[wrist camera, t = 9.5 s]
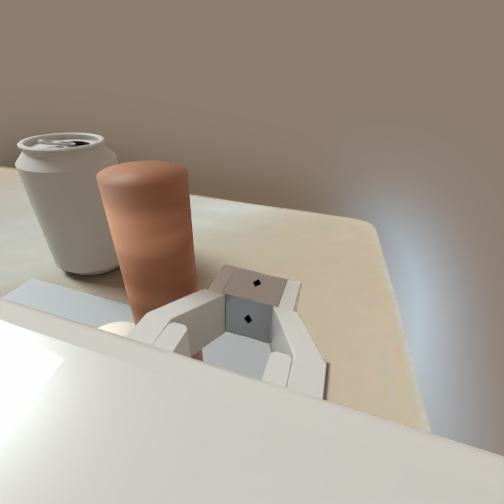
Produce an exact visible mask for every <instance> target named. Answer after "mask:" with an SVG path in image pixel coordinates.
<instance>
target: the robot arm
mask: <svg viewBox="0 0 504 504" xmlns="http://www.w3.org/2000/svg"><path fill="white" fill-rule="evenodd" d="M301 284H302V283H301V281H296V280H291V279H284V278H279V277H275V276H270V275H266V274H262V273H258V272H254V271H250V270H246V269H242V268H237V267H233V266H229V265H225V266H223V267H222V269H221V270H220V272H219V273H218V275H217V276H216V277H215V279H214V280H213V282H212V283H211V285H210V286H209V287H208V289H202V290H199V291H197V292H195V293H192V294H190V295H188V296H185V297H183V298H181V299H178V300H176V301H174V302H171V303H169V304H167V305H164V306H162V307H160V308H157V309H155V310H153V311H150V312H148V313H146V314H145V316H144V317H143V318H142V319H141V320H140V321H139V322H138V324H137V325H136V326H135V327H134V328H133V329H132V330H131V331H130V333H129V334H128V335H127V336H126V337H124V336H121V335H117V334H114V333H111V332H108V331H105V330H102V329H98V328H95V327H92V326H89V325H86V324H83V323H79V322H76V321H73V320H70V319H67V318H63V317H60V316H57V315H54V314H51V313H48V312H44V311H41V310H38V309H35V308H32V307H29V306H25V305H22V304H19V303H16V302H13V301H10V300H6V299H3V298H0V504H504V456H501V455H498V454H494V453H491V452H488V451H485V450H481V449H478V448H475V447H472V446H469V445H466V444H463V443H460V442H456V441H453V440H450V439H447V438H443V437H441V436H437V435H434V434H431V433H428V432H425V431H422V430H418V429H415V428H412V427H409V426H406V425H403V424H399V423H396V422H393V421H390V420H387V419H383V418H380V417H377V416H374V415H371V414H368V413H364V412H361V411H358V410H355V409H352V408H349V407H345V406H342V405H339V404H336V403H333V402H330V401H326V400H323V399H322V394H323V385H324V376H325V367H326V364H325V362H324V361H323V359H322V357H321V355H320V353H319V351H318V349H317V347H316V346H315V344H314V342H313V340H312V338H311V336H310V334H309V332H308V331H307V329H306V327H305V325H304V323H303V321H302V319H301V317H300V316H299V314H298V312H297V307H298V301H299V296H300V290H301ZM225 331H226V332H230V333H234V334H238V335H242V336H246V337H249V338H253V339H256V340H259V341H262V342H265V343H269V346H270V350H271V353H270V356H269V359H268V362H267V365H266V368H265V371H264V374H263V377H262V380H260V379H257V378H254V377H251V376H247V375H244V374H241V373H238V372H235V371H232V370H228V369H225V368H222V367H219V366H216V365H212V364H209V363H206V362H203V361H200V360H197V359H193V358H191V356H193V355H194V354H195V353H197V352H198V351H200V350H201V349H202V348H204V347H205V346H207V345H208V344H210V343H211V342H212V341H214V340H215V339H217V338H218V337H220V336H221V335H222V334H224V333H225Z"/></svg>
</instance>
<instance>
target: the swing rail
mask: <svg viewBox="0 0 504 504" xmlns="http://www.w3.org/2000/svg"><path fill="white" fill-rule="evenodd" d="M96 179H97V182H98V186H99V190H100V194H101V198H102V201H103V205H104V209H105V213H106V217H107V220H108V224H109V228H110V232H111V235H112V239H113V243H114V247H115V251H116V254H117V258H118V262H119V266H120V270H121V273H122V277H123V281H124V285H125V289H126V292H127V296H128V300H129V304H130V307H131V311H132V315H133V319H134V323H135V326H136V325H137V324H138V322H139V321H140V320H141V319H142V318H143V317H144V316H145V314H146V313H148V312H150V311H153V310H155V309H157V308H160V307H162V306H164V305H167V304H169V303H171V302H174V301H176V300H178V299H181V298H183V297H185V296H188V295H190V294H192V293H195V292H197V281H196V269H195V257H194V245H193V233H192V221H191V209H190V197H189V185H188V173H187V169H186V168H185V167H183V166H181V165H179V164H176V163H171V162H165V161H134V162H126V163H121V164H117V165H113V166H110V167H107V168H105V169H103V170H101V171H100V172H99V173H98V174H97V176H96ZM191 358H193V359H197V360H200V361H203V353H202V349H201V350H200V351H198V352H197V353H195V354H194V355H193V356H191Z"/></svg>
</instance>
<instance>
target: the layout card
mask: <svg viewBox="0 0 504 504" xmlns="http://www.w3.org/2000/svg"><path fill="white" fill-rule="evenodd" d="M2 298H3V299H6V300H10V301H13V302H16V303H19V304H22V305H25V306H29V307H32V308H35V309H38V310H41V311H44V312H48V313H51V314H54V315H57V316H60V317H63V318H67V319H70V320H73V321H76V322H79V323H83V324H86V325H89V326H92V327H95V328H98V329H102V330H105V331H108V332H111V333H114V334H117V335H121V336H124V337H126V336H127V335H128V334H129V333H130V331H131V330H132V329H133V328H134V327H135V323H134V319H133V315H132V311H131V307H130V305H127V304H124V303H120V302H117V301H113V300H109V299H106V298H102V297H99V296H95V295H91V294H88V293H84V292H81V291H77V290H73V289H70V288H66V287H63V286H59V285H55V284H52V283H48V282H45V281H41V280H37V279H34V278H32V279H30V280H29V281H27V282H26V283H24V284H23V285H21V286H20V287H18V288H16V289H15V290H13V291H12V292H10V293H9V294H7V295H5V296H4V297H2ZM202 353H203V362H206V363H209V364H212V365H216V366H219V367H222V368H225V369H228V370H232V371H235V372H238V373H241V374H244V375H247V376H251V377H254V378H257V379H260V380H262V377H263V374H264V371H265V368H266V365H267V362H268V359H269V356H270V353H271V350H270V346H269V344H268V343H264V342H261V341H257V340H253V339H250V338H246V337H243V336H239V335H235V334H232V333H228V332H225V333H224V334H222V335H221V336H220V337H218V338H217V339H215V340H214V341H212V342H211V343H210V344H208V345H207V346H205V347H204V348H202ZM323 361H324V362H325V364H326V365H327V360H325V359H323ZM325 375H326V367H325ZM324 384H325V376H324ZM323 394H324V385H323ZM323 394H322V399H323Z"/></svg>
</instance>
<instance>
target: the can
mask: <svg viewBox="0 0 504 504" xmlns="http://www.w3.org/2000/svg"><path fill="white" fill-rule="evenodd" d="M104 142H105V139H104V138H103V137H101V136H100V135H95V134H89V133H56V134H46V135H39V136H34V137H30V138H26V139H23V140H21V141H20V142H19V143H18V144H17V146H18V147H19V149H21V150H22V153H21V154H20V156H19V158H18V159H17V161H16V163H15V166H16V168H17V171H18V173H19V175H20V178H21V180H22V183H23V185H24V188H25V190H26V192H27V195H28V197H29V200H30V202H31V204H32V207H33V209H34V212H35V214H36V217H37V219H38V221H39V224H40V226H41V229H42V231H43V234H44V236H45V238H46V241H47V243H48V246H49V248H50V250H51V253H52V255H53V258H54V260H55V262H56V265H57V267H59V268H61V269H62V270H64V271H68V272H73V273H75V274H79V275H96V274H102V273H105V272H108V271H111V270H114V269H115V268H117V267H119V262H118V258H117V254H116V251H115V247H114V243H113V239H112V235H111V232H110V228H109V224H108V220H107V217H106V213H105V209H104V205H103V201H102V198H101V194H100V190H99V186H98V182H97V179H96V176H97V174H98V173H99V172H100V171H101V170H103V169H105V168H107V167H110V166H113V165H117V164H118V162H117V158H116V154H114V153H113V152H112V151H111V150H110V149H108V148H107V147H106V146H105V145H104Z"/></svg>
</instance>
